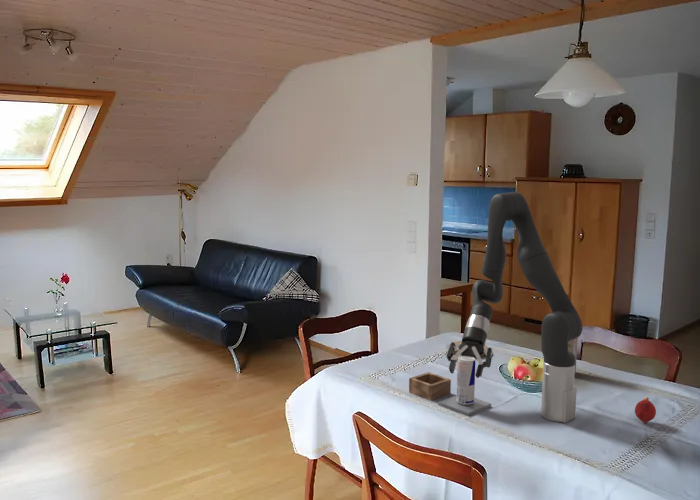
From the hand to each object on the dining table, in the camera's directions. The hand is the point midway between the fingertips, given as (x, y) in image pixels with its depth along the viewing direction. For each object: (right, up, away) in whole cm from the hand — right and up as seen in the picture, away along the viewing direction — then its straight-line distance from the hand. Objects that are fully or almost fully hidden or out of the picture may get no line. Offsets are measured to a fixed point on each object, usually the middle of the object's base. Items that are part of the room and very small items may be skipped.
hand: (464, 374), depth 195 cm
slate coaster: (+1, -11, +3) cm, 11 cm away
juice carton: (+45, -7, +35) cm, 57 cm away
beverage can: (+1, -10, +2) cm, 10 cm away
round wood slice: (+13, -4, +61) cm, 62 cm away
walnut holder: (-9, -9, +14) cm, 19 cm away
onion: (+53, -13, -10) cm, 55 cm away
